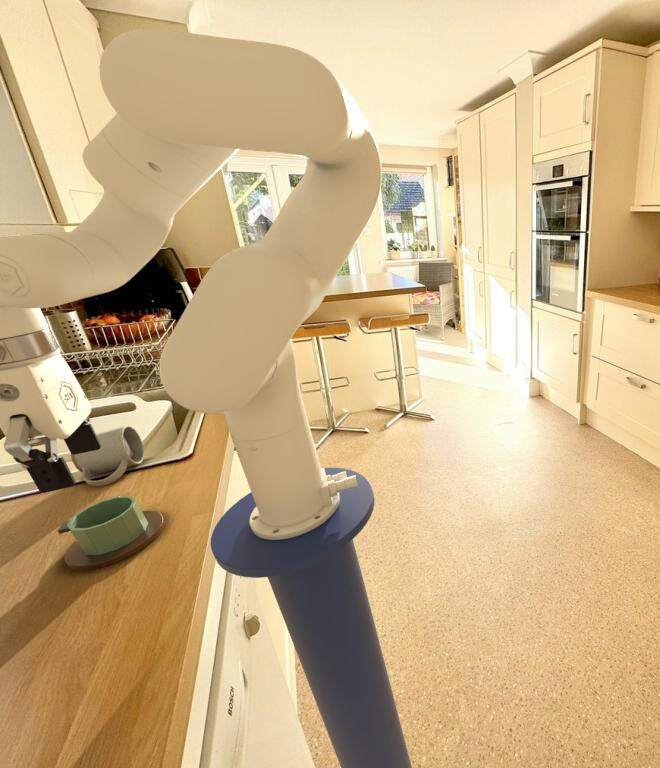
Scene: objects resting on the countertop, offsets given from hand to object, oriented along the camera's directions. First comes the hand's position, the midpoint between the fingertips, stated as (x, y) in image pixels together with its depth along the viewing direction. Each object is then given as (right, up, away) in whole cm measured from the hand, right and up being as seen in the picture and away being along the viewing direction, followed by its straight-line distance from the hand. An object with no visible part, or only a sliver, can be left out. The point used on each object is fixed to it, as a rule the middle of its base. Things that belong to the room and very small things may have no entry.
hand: (74, 468), depth 56 cm
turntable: (+1, -12, +5) cm, 13 cm away
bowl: (+1, -11, +5) cm, 12 cm away
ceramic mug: (-16, -5, +22) cm, 28 cm away
